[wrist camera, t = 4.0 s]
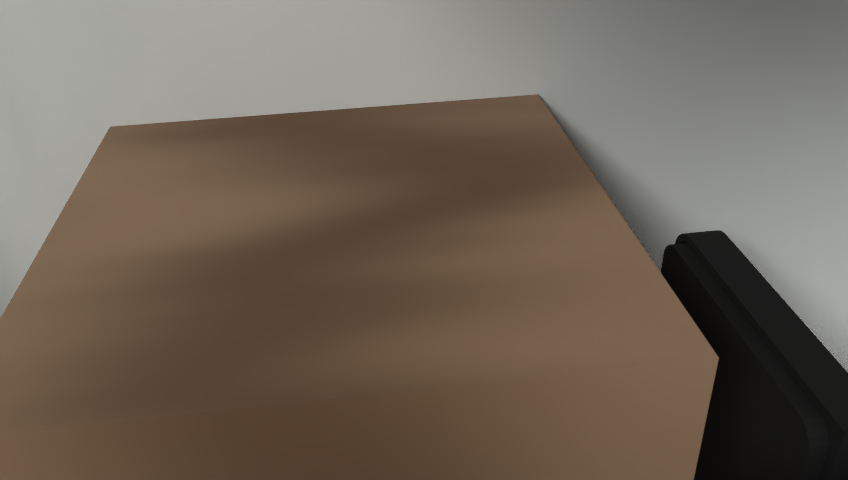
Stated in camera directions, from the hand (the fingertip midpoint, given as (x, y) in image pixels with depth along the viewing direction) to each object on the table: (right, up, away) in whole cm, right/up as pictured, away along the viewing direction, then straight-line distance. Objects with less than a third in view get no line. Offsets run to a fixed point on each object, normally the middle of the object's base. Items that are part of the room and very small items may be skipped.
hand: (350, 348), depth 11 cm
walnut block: (0, +1, +1) cm, 2 cm away
